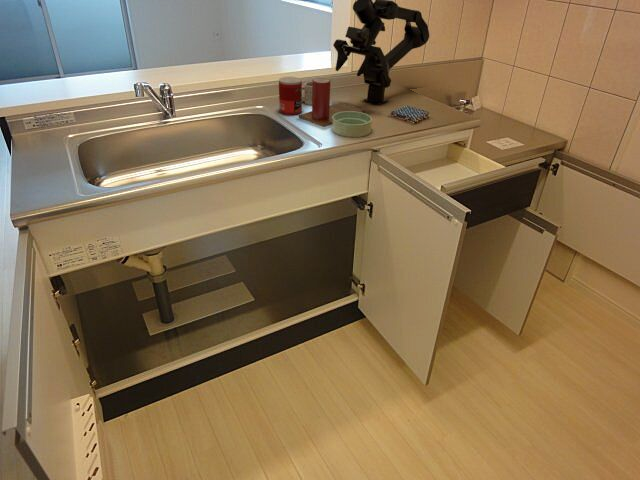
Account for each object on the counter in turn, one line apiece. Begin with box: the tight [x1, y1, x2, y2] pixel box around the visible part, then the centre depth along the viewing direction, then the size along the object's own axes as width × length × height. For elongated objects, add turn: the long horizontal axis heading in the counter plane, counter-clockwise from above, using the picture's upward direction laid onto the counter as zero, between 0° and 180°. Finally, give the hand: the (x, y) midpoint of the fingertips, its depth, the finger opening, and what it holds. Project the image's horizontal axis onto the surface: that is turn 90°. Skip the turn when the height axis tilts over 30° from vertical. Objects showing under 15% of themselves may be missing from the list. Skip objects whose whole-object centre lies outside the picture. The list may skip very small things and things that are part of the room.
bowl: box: [331, 111, 373, 138], centre depth 140 cm, size 13×13×4 cm
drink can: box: [311, 77, 331, 120], centre depth 144 cm, size 6×6×12 cm
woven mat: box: [389, 105, 430, 124], centre depth 153 cm, size 10×11×2 cm
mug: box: [302, 81, 312, 106], centre depth 162 cm, size 10×7×7 cm
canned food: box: [278, 76, 303, 116], centre depth 152 cm, size 8×8×11 cm
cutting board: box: [298, 101, 366, 128], centre depth 152 cm, size 21×12×2 cm, turn 136°
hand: (346, 72), depth 148 cm, fingers open, 9 cm apart
